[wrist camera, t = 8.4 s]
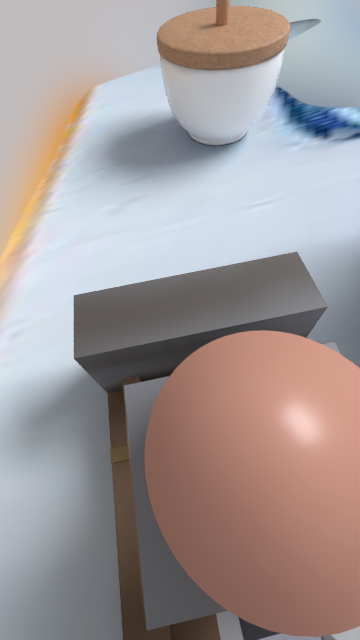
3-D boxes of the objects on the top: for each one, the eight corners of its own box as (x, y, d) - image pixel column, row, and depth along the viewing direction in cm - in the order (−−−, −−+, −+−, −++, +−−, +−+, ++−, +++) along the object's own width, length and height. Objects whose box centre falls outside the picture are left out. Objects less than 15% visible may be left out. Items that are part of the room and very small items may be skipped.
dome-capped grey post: (303, 516, 11) (542, 582, 3) (180, 545, 11) (124, 688, 3) (268, 415, 13) (365, 306, 5) (163, 438, 13) (104, 360, 5)
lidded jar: (227, 95, 34) (236, -30, 25) (293, 133, 29) (329, -8, 20) (148, 126, 31) (129, -1, 23) (204, 173, 26) (205, 32, 18)
